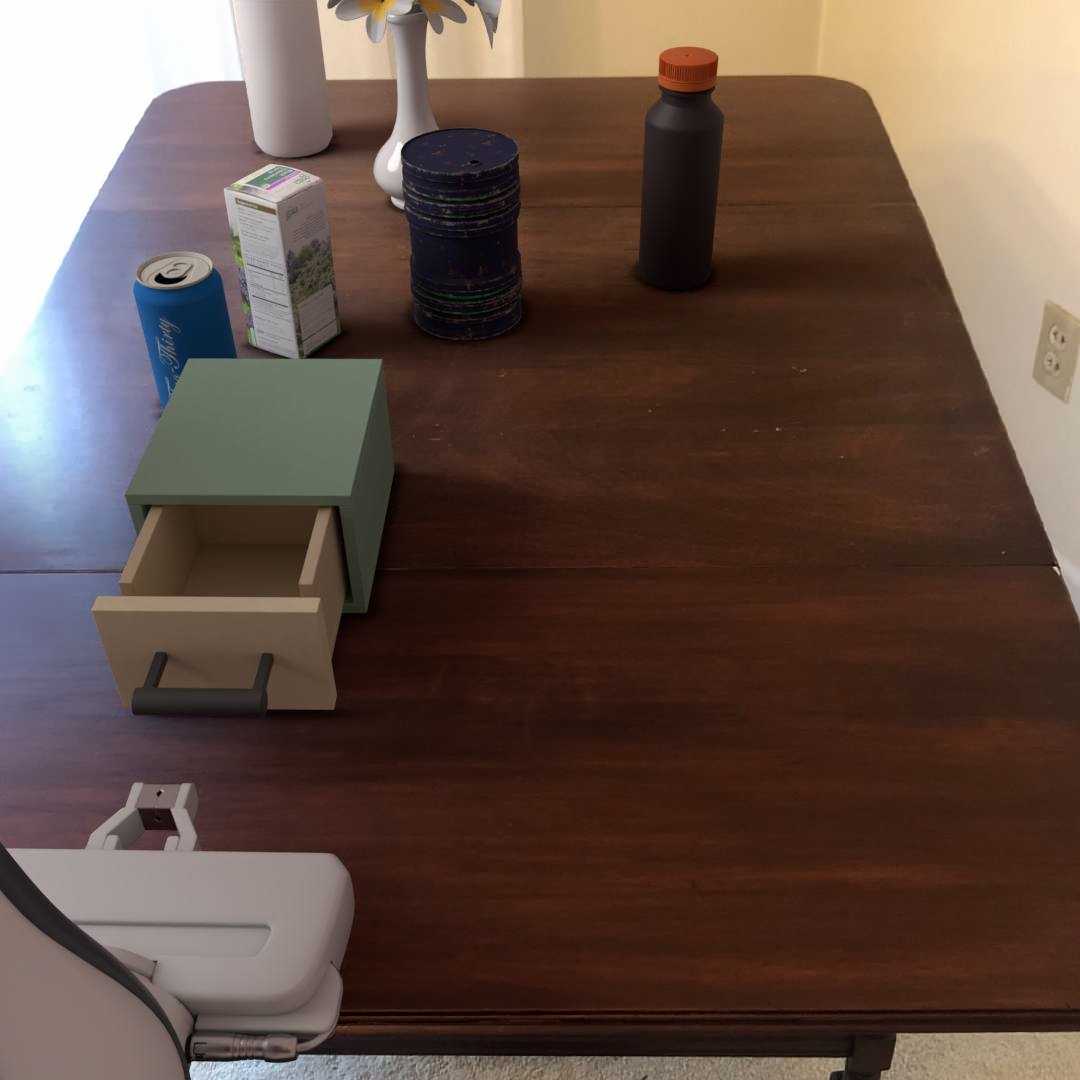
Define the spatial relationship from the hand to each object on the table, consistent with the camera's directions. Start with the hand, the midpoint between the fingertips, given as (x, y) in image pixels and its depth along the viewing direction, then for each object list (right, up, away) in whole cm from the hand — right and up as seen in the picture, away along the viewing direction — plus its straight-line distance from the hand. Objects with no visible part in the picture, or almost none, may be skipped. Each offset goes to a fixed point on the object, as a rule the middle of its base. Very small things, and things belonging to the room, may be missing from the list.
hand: (167, 790), depth 61 cm
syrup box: (-2, +30, +45) cm, 54 cm away
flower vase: (+7, +48, +67) cm, 83 cm away
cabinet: (+1, +13, +24) cm, 27 cm away
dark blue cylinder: (+12, +33, +48) cm, 59 cm away
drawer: (0, +6, +14) cm, 16 cm away
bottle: (+31, +37, +54) cm, 72 cm away
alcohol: (-9, +58, +79) cm, 98 cm away
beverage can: (-8, +23, +37) cm, 45 cm away
